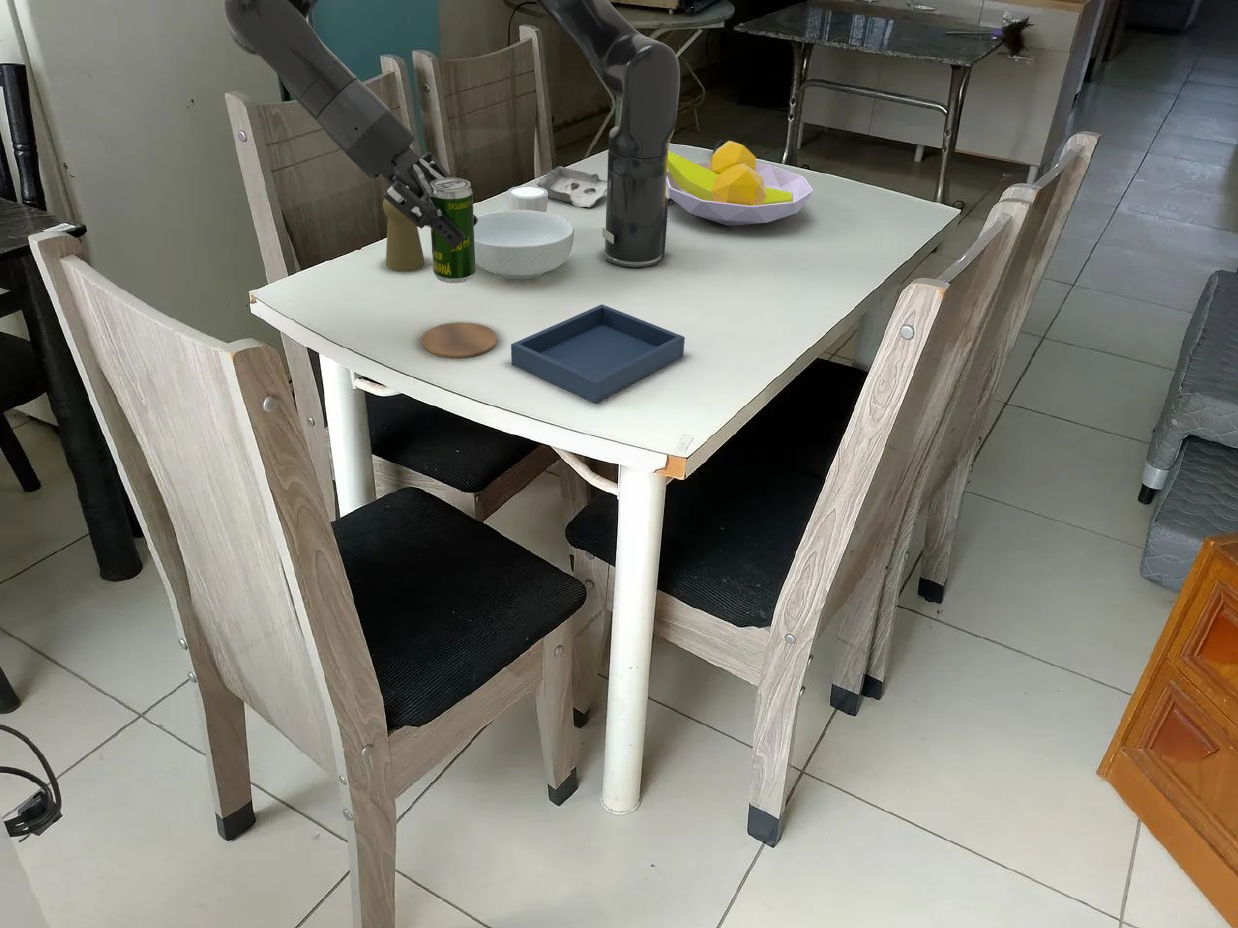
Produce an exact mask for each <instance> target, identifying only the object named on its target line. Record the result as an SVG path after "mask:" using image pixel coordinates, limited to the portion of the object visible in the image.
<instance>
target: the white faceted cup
mask: <svg viewBox="0 0 1238 928" xmlns="http://www.w3.org/2000/svg"><path fill="white" fill-rule="evenodd" d="M506 194H507V195H506V196H507V203H508V205H507V206H508V210H530V211H540V212H546V213H548V212H547V209H548V199H549V197H548V191H547V190H546V189H544V188H541V187H538V185H537V186H536V185H518V186H513V187H511V188H509V189H507V191H506Z"/></svg>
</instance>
